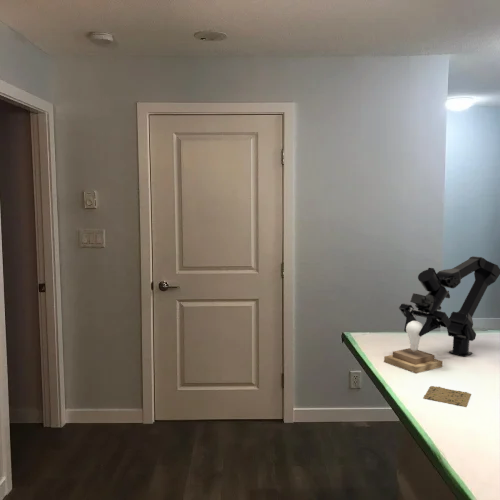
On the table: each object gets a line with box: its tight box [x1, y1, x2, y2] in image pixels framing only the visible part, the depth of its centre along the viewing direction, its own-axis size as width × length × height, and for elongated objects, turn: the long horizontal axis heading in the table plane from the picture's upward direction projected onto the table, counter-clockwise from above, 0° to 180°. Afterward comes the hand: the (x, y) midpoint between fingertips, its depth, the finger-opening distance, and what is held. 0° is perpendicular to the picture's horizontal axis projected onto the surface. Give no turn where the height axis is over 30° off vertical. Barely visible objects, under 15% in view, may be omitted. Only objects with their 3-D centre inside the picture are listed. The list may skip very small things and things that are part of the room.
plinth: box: [383, 347, 443, 374], centre depth 178 cm, size 14×14×4 cm
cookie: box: [422, 385, 472, 408], centre depth 149 cm, size 12×12×1 cm
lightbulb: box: [405, 320, 424, 351], centre depth 178 cm, size 6×6×11 cm
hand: (412, 333), depth 177 cm, fingers closed on lightbulb, 6 cm apart
